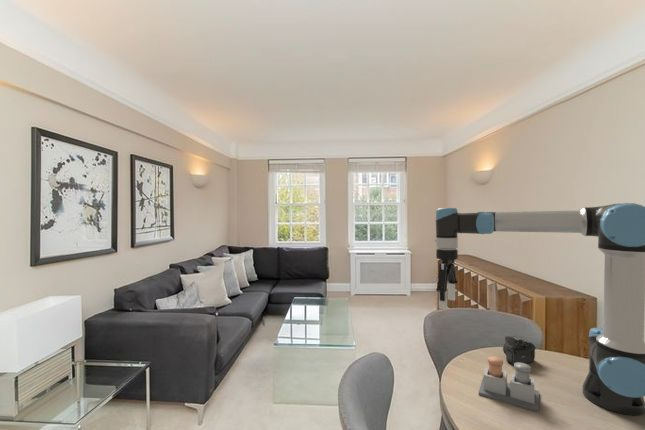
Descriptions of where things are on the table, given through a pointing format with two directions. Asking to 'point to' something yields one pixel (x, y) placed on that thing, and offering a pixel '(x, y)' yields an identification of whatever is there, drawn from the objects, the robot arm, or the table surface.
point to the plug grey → (522, 373)
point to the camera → (518, 350)
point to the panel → (510, 391)
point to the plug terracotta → (495, 366)
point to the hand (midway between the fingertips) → (447, 304)
